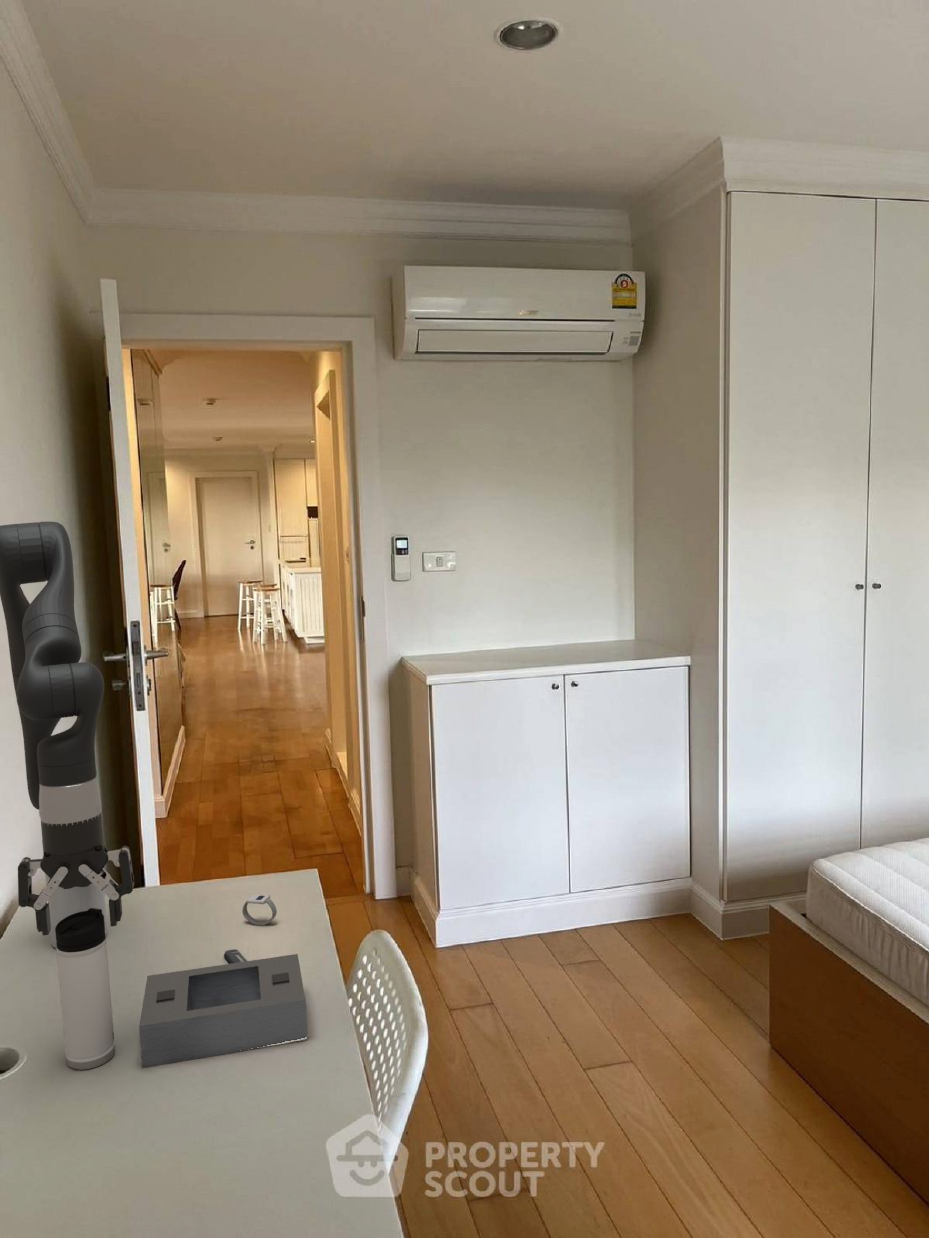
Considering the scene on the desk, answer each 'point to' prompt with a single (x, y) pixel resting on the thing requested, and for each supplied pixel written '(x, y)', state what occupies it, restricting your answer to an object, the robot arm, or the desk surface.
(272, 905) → the wristwatch
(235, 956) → the usb stick
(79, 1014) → the travel mug
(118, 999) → the desk surface
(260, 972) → the grey slotted block
